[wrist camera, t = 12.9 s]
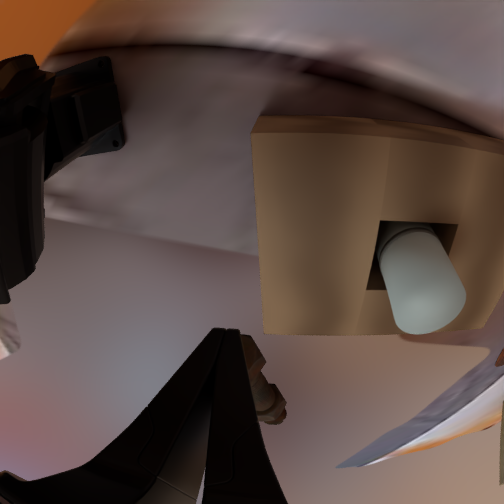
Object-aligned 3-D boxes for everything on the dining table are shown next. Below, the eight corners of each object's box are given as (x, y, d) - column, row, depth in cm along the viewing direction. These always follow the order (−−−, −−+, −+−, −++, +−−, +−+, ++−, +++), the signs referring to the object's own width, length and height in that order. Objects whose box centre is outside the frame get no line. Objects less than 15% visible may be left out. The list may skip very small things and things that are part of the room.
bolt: (271, 391, 39) (229, 324, 30) (303, 405, 36) (270, 340, 27) (246, 425, 36) (192, 369, 27) (278, 442, 32) (232, 392, 24)
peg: (363, 246, 21) (385, 336, 15) (371, 194, 19) (405, 277, 12) (415, 247, 21) (450, 332, 14) (427, 197, 18) (478, 276, 12)
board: (268, 294, 25) (263, 334, 22) (259, 115, 17) (250, 133, 13) (467, 294, 23) (482, 328, 19) (517, 143, 14) (550, 167, 11)
